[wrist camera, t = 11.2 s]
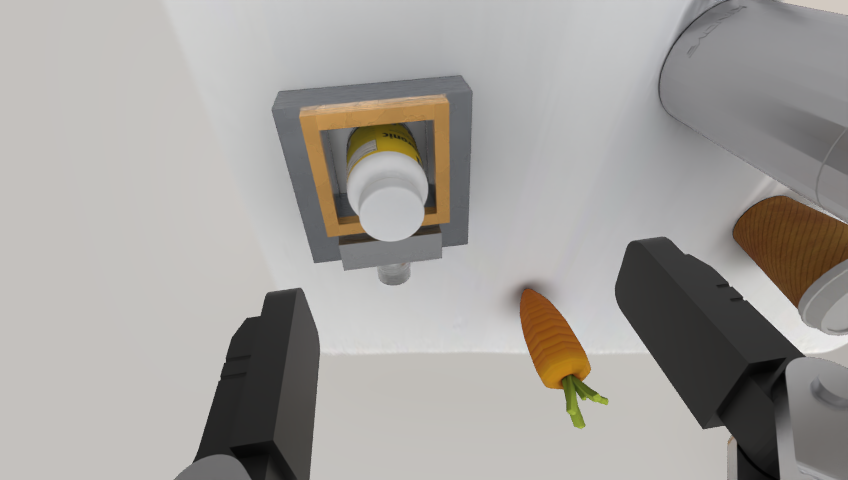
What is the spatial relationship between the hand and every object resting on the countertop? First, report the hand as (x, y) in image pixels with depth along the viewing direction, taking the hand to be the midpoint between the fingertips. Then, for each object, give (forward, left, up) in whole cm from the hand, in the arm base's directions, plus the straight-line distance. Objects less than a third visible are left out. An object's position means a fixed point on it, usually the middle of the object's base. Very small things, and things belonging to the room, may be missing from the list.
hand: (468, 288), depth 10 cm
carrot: (-27, +9, -23) cm, 37 cm away
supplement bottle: (-4, +6, -23) cm, 24 cm away
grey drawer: (-6, +9, -23) cm, 25 cm away
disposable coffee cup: (-41, -13, -23) cm, 49 cm away
